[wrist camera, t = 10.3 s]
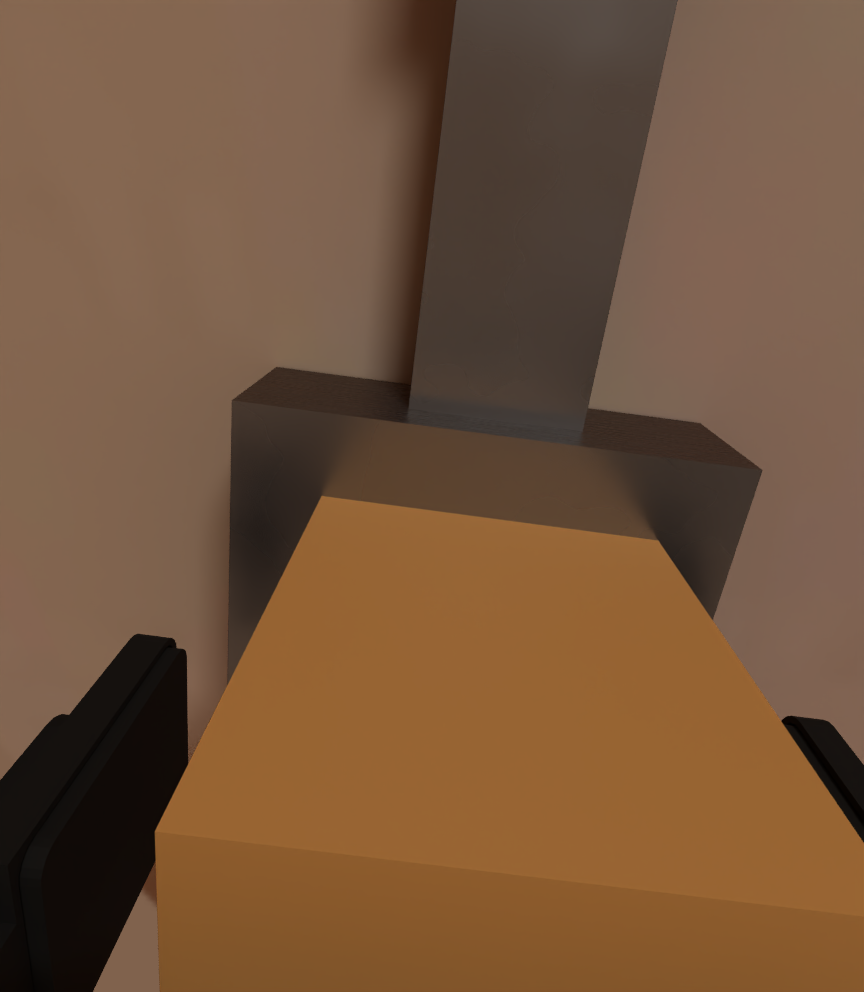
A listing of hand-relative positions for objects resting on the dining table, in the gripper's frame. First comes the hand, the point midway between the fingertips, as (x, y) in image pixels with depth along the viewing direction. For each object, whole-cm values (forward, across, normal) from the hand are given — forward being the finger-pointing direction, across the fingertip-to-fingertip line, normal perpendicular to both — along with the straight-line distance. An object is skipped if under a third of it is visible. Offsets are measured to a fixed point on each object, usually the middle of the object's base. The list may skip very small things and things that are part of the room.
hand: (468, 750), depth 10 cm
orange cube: (+2, 0, 0) cm, 2 cm away
